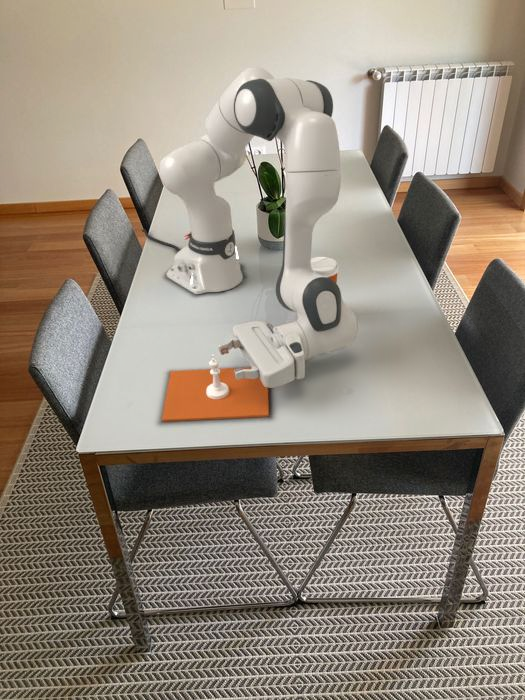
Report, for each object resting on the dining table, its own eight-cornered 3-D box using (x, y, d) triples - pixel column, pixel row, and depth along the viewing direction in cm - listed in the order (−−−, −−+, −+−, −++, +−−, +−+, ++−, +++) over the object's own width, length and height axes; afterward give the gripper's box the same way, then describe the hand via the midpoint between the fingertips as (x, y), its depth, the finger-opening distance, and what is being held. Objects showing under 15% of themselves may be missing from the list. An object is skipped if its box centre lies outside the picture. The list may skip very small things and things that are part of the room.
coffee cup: (311, 328, 147) (311, 274, 139) (301, 311, 154) (299, 259, 145) (343, 321, 149) (345, 268, 140) (331, 305, 155) (332, 253, 146)
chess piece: (229, 383, 131) (224, 346, 125) (229, 398, 127) (224, 361, 121) (206, 385, 131) (201, 348, 125) (205, 400, 127) (200, 362, 121)
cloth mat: (162, 421, 123) (161, 419, 123) (171, 373, 136) (170, 371, 136) (268, 416, 123) (268, 414, 123) (267, 368, 136) (267, 366, 135)
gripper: (267, 309, 136) (209, 325, 132) (307, 358, 120) (242, 377, 116) (269, 332, 139) (212, 348, 136) (307, 382, 124) (245, 402, 120)
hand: (226, 362), depth 126 cm, fingers open, 8 cm apart
